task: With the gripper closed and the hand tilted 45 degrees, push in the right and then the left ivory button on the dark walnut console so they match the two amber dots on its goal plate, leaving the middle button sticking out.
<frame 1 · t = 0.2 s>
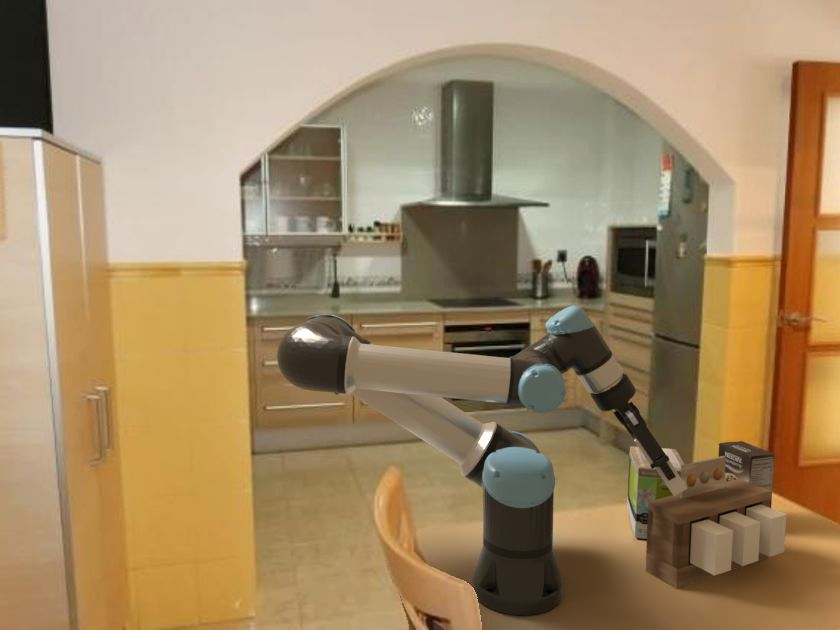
hand: (668, 477, 124), 16 cm above the table, tool tilted 35°, fingers open, 13 cm apart
console: (708, 564, 123), on the table
right button: (765, 530, 120), point 7 cm above the table, slide at 0.0 cm
left button: (711, 546, 114), point 7 cm above the table, slide at 0.0 cm
tea box: (654, 526, 140), on the table
middle button: (738, 538, 117), point 7 cm above the table, slide at 0.0 cm
coffee box: (741, 522, 141), on the table
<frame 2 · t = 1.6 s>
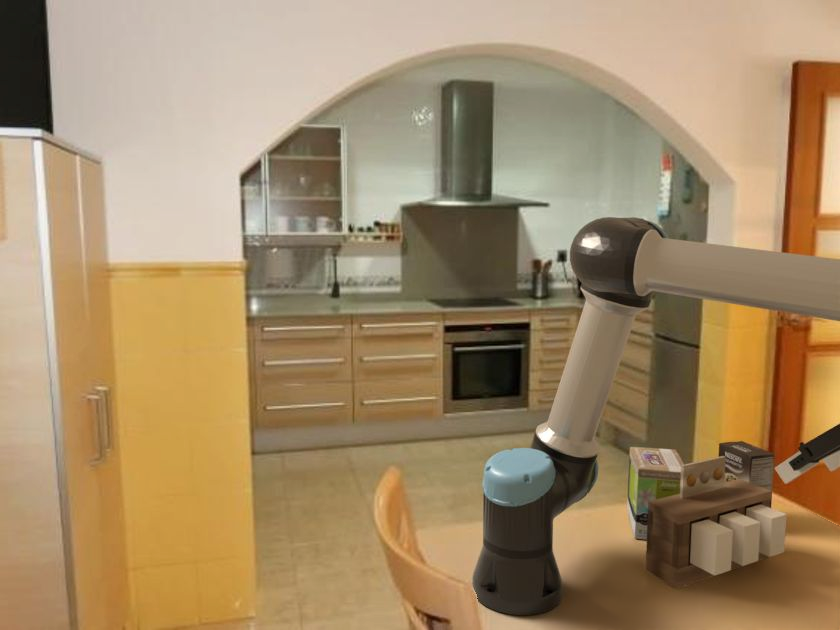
hand: (804, 469, 106), 23 cm above the table, tool tilted 45°, fingers open, 11 cm apart
nothing on the table moved.
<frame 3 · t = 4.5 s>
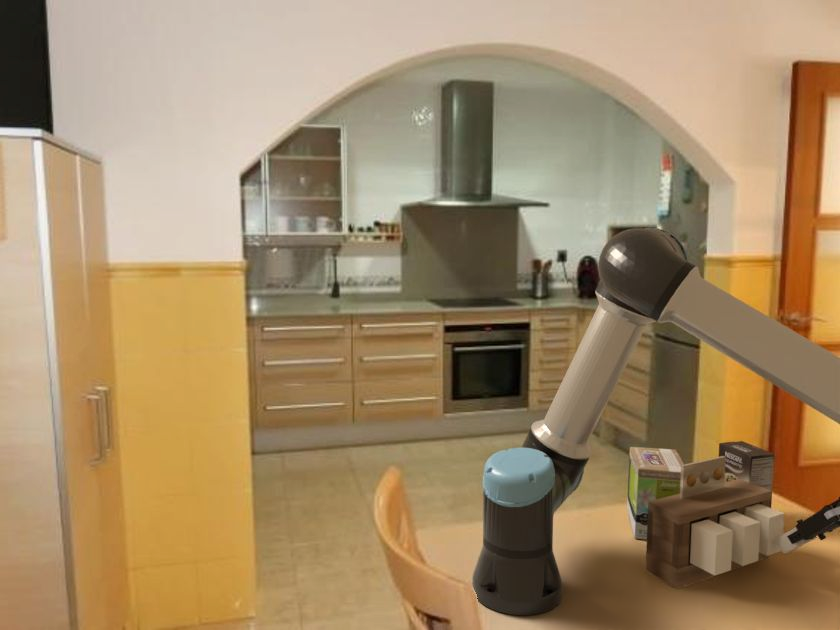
hand: (782, 545, 118), 6 cm above the table, tool tilted 45°, fingers closed
right button: (762, 529, 121), point 7 cm above the table, slide at 0.4 cm, touching gripper
everything else where it was.
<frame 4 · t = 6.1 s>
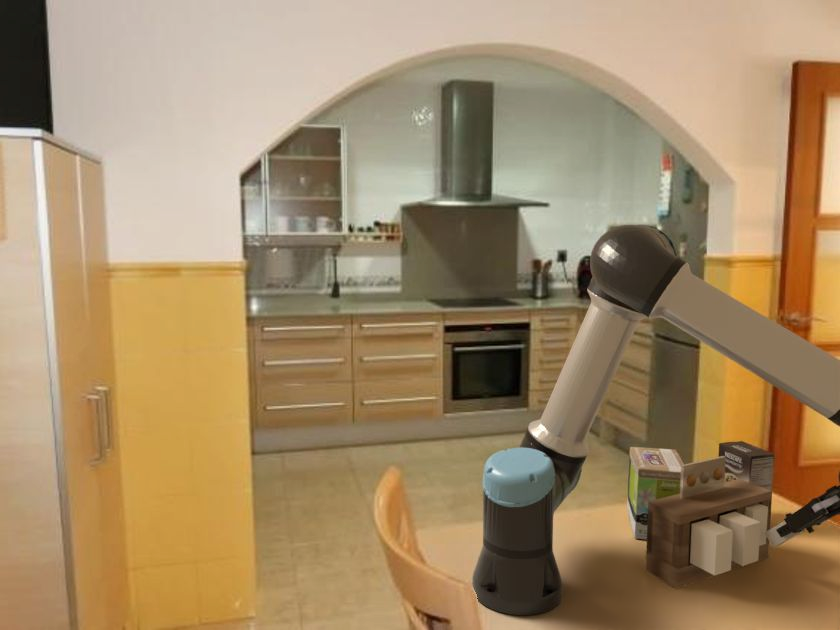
hand: (771, 539, 119), 6 cm above the table, tool tilted 45°, fingers closed
right button: (747, 522, 123), point 8 cm above the table, slide at 3.6 cm
everything else where it was.
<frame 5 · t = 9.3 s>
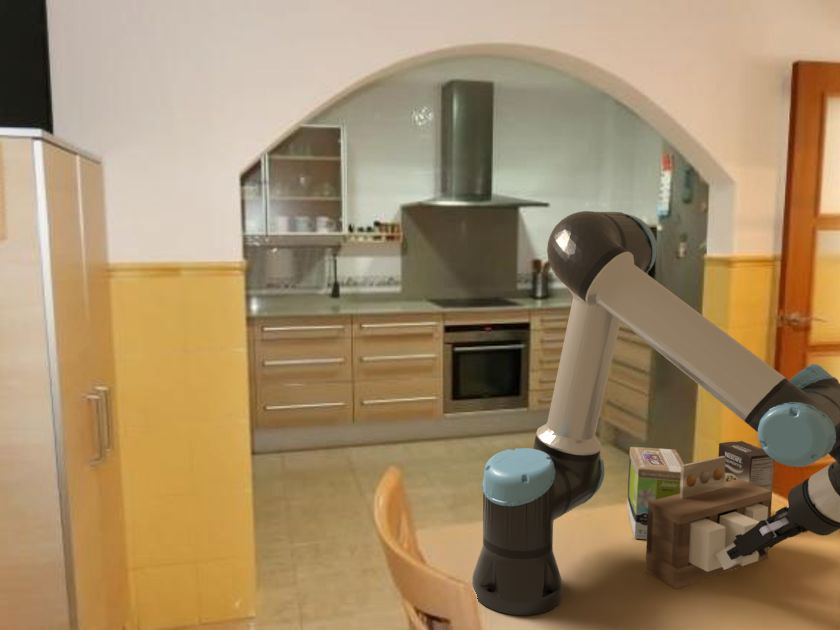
hand: (722, 561, 112), 6 cm above the table, tool tilted 45°, fingers closed
left button: (704, 543, 115), point 7 cm above the table, slide at 1.4 cm, touching gripper
everything else where it was.
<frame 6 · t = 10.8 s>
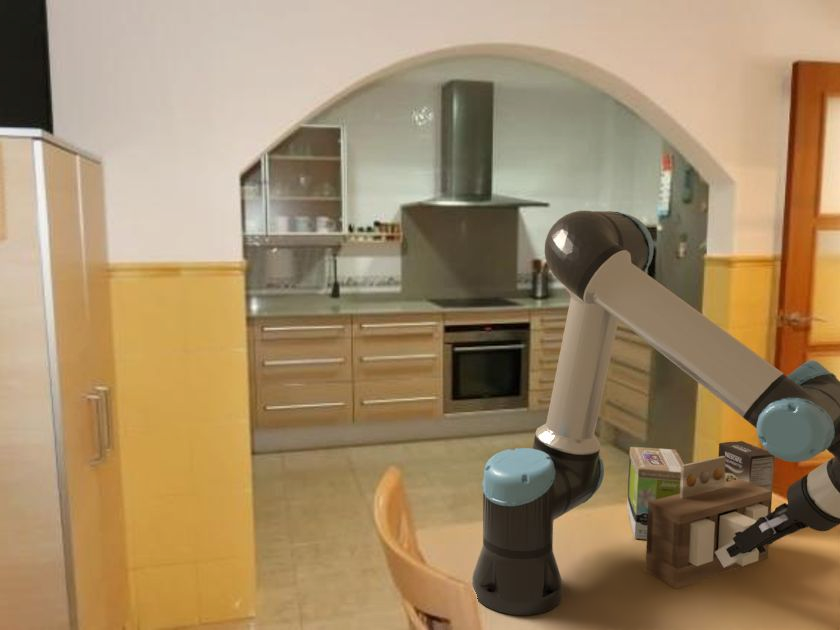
hand: (722, 558, 112), 6 cm above the table, tool tilted 45°, fingers closed
left button: (693, 538, 117), point 7 cm above the table, slide at 3.6 cm
everything else where it was.
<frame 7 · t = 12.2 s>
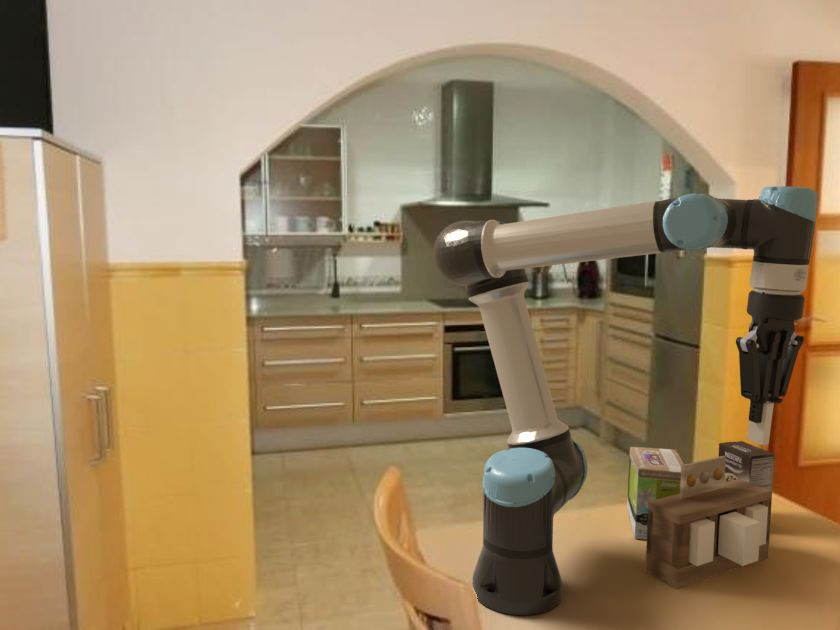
hand: (757, 441, 104), 28 cm above the table, tool pointing down, fingers closed
nothing on the table moved.
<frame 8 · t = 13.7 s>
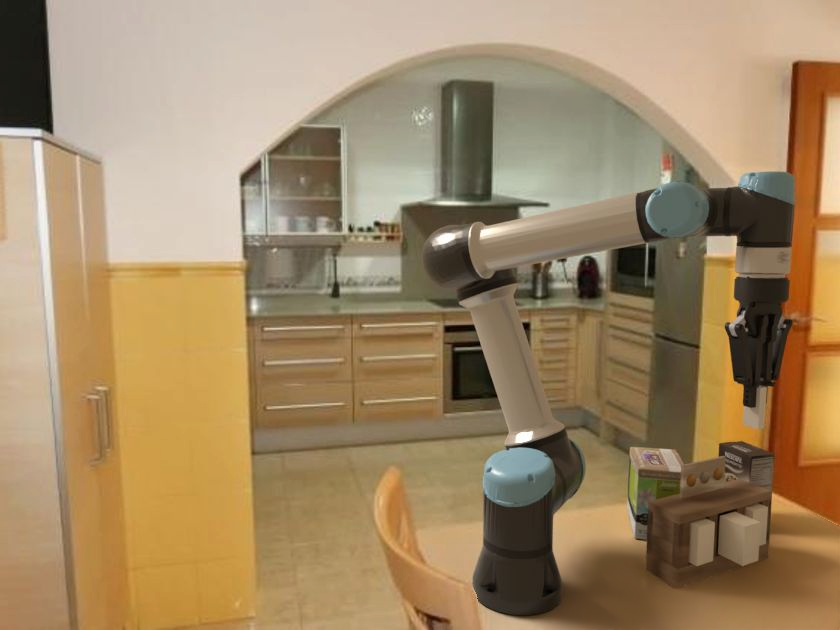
hand: (753, 426, 105), 30 cm above the table, tool pointing down, fingers closed
nothing on the table moved.
at the end: right button slide at 3.6 cm; left button slide at 3.6 cm; middle button slide at 0.0 cm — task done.
